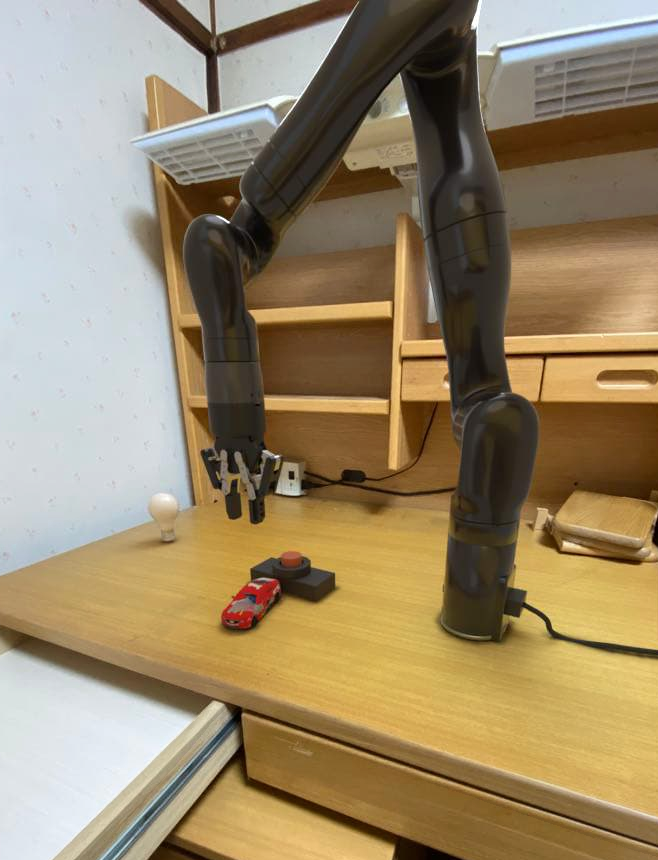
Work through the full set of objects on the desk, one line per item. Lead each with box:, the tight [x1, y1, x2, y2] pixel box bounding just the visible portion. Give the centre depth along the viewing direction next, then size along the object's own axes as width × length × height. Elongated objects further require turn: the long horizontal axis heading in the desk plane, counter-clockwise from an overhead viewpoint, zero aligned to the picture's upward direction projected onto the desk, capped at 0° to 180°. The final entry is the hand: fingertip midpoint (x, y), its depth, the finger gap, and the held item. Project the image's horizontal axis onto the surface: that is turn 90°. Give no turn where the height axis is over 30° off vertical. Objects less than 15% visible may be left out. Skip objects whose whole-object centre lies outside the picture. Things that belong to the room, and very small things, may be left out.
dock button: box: [280, 550, 303, 567], centre depth 79 cm, size 4×4×2 cm
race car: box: [220, 578, 282, 630], centre depth 72 cm, size 13×5×4 cm, turn 161°
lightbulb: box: [147, 492, 180, 543], centre depth 100 cm, size 6×6×11 cm
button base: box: [249, 555, 336, 603], centre depth 80 cm, size 14×6×4 cm, turn 59°
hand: (246, 520), depth 67 cm, fingers open, 3 cm apart
